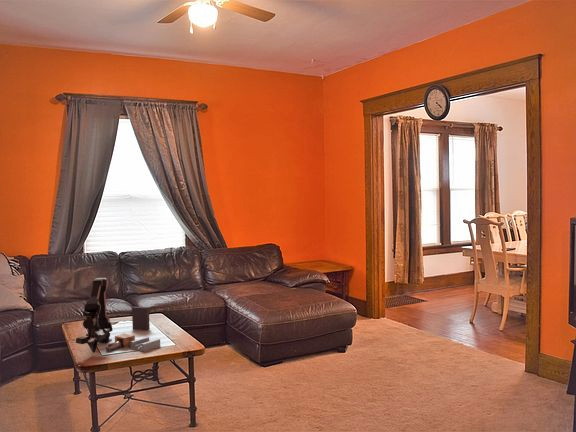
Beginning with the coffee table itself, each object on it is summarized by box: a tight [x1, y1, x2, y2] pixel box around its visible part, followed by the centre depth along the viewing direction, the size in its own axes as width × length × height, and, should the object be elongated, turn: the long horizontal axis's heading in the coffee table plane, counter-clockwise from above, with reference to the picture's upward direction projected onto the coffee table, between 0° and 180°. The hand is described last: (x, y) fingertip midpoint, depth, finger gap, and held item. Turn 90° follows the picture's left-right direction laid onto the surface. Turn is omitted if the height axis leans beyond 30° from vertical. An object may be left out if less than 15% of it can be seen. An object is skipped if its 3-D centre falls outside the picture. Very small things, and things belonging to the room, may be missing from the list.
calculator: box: [131, 306, 151, 332], centre depth 353 cm, size 11×4×15 cm, turn 74°
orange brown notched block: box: [114, 333, 136, 349], centre depth 315 cm, size 7×9×6 cm
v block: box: [130, 336, 161, 352], centre depth 310 cm, size 12×11×4 cm
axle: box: [104, 340, 123, 352], centre depth 311 cm, size 16×4×4 cm, turn 147°
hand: (93, 352), depth 297 cm, fingers closed
